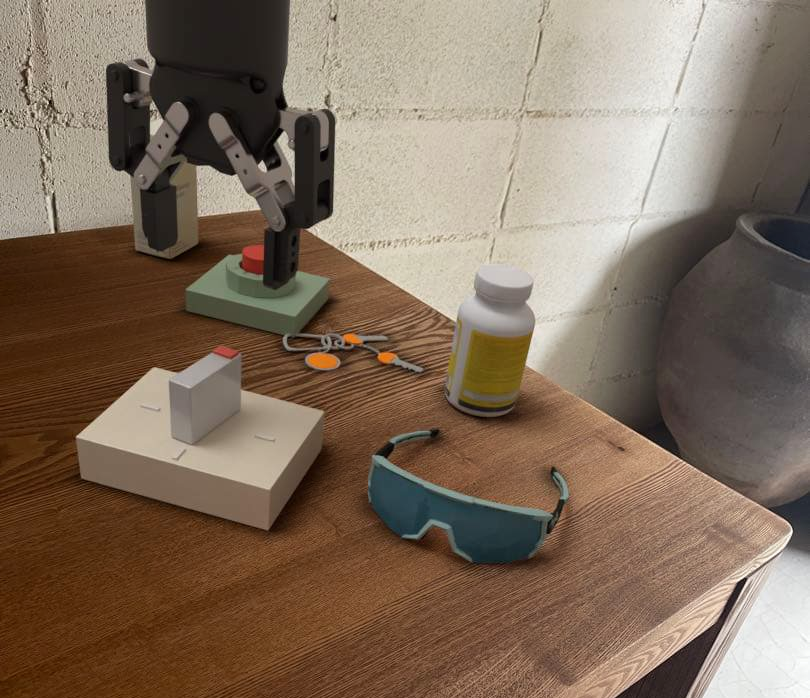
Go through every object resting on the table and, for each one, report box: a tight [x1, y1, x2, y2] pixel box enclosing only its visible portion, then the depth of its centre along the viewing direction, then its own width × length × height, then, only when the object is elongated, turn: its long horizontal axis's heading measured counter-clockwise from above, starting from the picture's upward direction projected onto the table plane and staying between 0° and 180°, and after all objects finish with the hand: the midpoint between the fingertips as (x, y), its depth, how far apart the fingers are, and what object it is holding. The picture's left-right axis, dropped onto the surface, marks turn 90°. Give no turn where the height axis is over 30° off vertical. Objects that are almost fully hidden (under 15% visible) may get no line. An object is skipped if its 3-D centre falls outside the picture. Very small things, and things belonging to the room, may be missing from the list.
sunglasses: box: [367, 428, 570, 564], centre depth 63 cm, size 14×15×5 cm
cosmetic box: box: [129, 118, 199, 260], centre depth 89 cm, size 6×4×12 cm
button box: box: [185, 253, 331, 338], centre depth 84 cm, size 11×10×4 cm
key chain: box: [282, 332, 424, 373], centre depth 80 cm, size 13×7×1 cm, turn 98°
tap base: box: [75, 366, 325, 531], centre depth 63 cm, size 14×11×4 cm
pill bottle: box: [444, 263, 536, 418], centre depth 73 cm, size 6×6×12 cm
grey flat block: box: [169, 344, 242, 445], centre depth 60 cm, size 6×2×5 cm, turn 155°
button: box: [241, 244, 264, 275], centre depth 82 cm, size 4×4×2 cm
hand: (219, 265), depth 55 cm, fingers open, 8 cm apart
